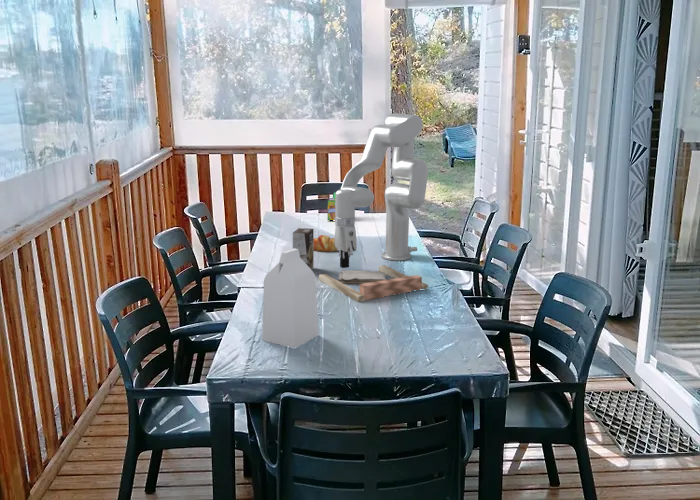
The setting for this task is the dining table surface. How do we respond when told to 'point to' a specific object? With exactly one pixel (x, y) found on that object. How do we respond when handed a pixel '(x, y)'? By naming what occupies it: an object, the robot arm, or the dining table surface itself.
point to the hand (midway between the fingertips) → (344, 267)
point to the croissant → (324, 244)
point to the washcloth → (360, 277)
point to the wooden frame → (378, 285)
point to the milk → (290, 302)
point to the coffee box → (304, 245)
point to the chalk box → (331, 207)
